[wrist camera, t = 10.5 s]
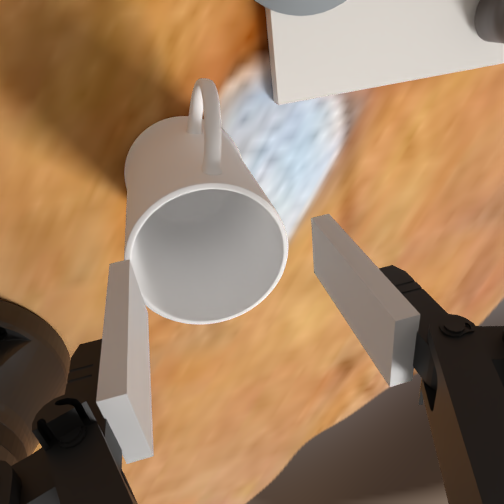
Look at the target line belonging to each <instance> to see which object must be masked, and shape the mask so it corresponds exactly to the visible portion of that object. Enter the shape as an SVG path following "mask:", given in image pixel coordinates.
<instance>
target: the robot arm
mask: <svg viewBox="0 0 504 504" xmlns="http://www.w3.org/2000/svg"><path fill="white" fill-rule="evenodd" d="M311 222H312V241H313V260H314V273H315V274H316V276H317V277H318V279H319V280H320V282H321V283H322V285H323V287H324V288H325V290H326V291H327V293H328V294H329V296H330V297H331V299H332V300H333V302H334V303H335V305H336V306H337V308H338V309H339V311H340V312H341V314H342V315H343V317H344V318H345V320H346V321H347V323H348V324H349V326H350V327H351V329H352V330H353V332H354V333H355V335H356V336H357V338H358V339H359V341H360V343H361V344H362V346H363V347H364V349H365V350H366V352H367V353H368V355H369V356H370V358H371V359H372V361H373V362H374V364H375V365H376V367H377V368H378V370H379V371H380V373H381V374H382V376H383V377H384V379H385V380H386V382H387V383H388V385H389V386H390V387H391V386H395V385H398V384H401V383H405V382H408V381H412V378H413V369H414V368H415V369H416V371H417V372H418V373H419V375H420V376H421V377H422V380H421V386H420V393H419V405H422V404H423V399H424V403H425V407H426V411H427V416H428V420H429V424H430V427H431V432H432V436H433V440H434V445H435V449H436V453H437V457H438V461H439V465H440V470H441V474H442V478H443V482H444V486H445V491H446V495H447V498H448V503H449V504H504V326H486V327H482V326H475V325H474V323H472V322H471V321H469V320H468V319H466V318H464V317H461V316H458V315H452V314H448V313H447V312H446V311H445V310H444V309H443V308H442V307H441V306H440V305H439V304H438V303H437V302H436V301H435V300H434V299H433V298H432V297H431V296H430V295H429V294H428V293H427V292H426V291H425V290H424V289H422V288H421V286H420V285H419V284H418V283H417V282H415V281H414V279H413V278H412V277H411V276H410V275H409V274H408V273H407V272H405V271H403V270H401V269H399V268H397V267H395V266H393V265H391V266H387V267H383V268H378V267H377V266H376V265H375V264H374V263H373V262H372V261H371V260H370V259H369V257H368V256H367V255H366V254H365V253H364V252H363V251H362V250H361V249H360V248H359V246H358V245H357V244H356V243H355V242H354V241H353V240H352V239H351V238H350V237H349V236H348V234H347V233H346V232H345V231H344V230H343V229H342V228H341V227H340V226H339V225H338V223H337V222H336V221H335V220H334V219H333V218H332V217H331V216H330V215H329V214H326V215H322V216H318V217H313V218H311ZM39 443H40V444H41V446H42V448H41V449H39V450H38V451H36V452H35V453H33V452H34V450H35V448H36V447H37V445H38V444H39ZM32 453H33V454H32ZM122 455H123V457H124V459H125V461H126V463H127V464H128V463H131V462H135V461H138V460H142V459H145V458H149V457H152V456H154V455H153V430H152V405H151V379H150V354H149V329H148V312H147V309H146V306H145V303H144V300H143V297H142V294H141V291H140V288H139V285H138V282H137V280H136V277H135V274H134V271H133V268H132V265H131V262H130V259H129V260H124V261H120V262H116V263H111V264H110V266H109V276H108V286H107V296H106V306H105V316H104V326H103V336H102V339H100V340H96V341H92V342H88V343H84V344H80V345H79V347H78V348H77V350H76V351H75V353H74V354H73V356H72V357H71V361H70V356H69V353H68V350H67V348H66V345H65V344H64V342H63V340H62V339H61V337H60V336H59V335H58V334H57V332H56V331H55V330H54V329H53V328H52V327H51V326H50V325H49V324H47V323H46V322H45V321H44V320H42V319H41V318H39V317H38V316H36V315H35V314H33V313H31V312H30V311H28V310H26V309H24V308H22V307H19V306H17V305H14V304H12V303H9V302H6V301H2V300H0V504H138V503H137V501H136V499H135V497H134V495H133V492H132V490H131V488H130V486H129V484H128V481H127V479H126V477H125V475H124V473H123V471H122V469H121V468H122Z"/></svg>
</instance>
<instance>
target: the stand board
mask: <svg viewBox="0 0 504 504" xmlns="http://www.w3.org/2000/svg"><path fill="white" fill-rule="evenodd" d="M255 1H256V2H257V3H259V4H261V5H262V6H264V7H265V11H266V22H267V33H268V45H269V56H270V67H271V78H272V89H273V100H274V102H275V103H276V104H278V105H282V104H287V103H293V102H298V101H303V100H309V99H314V98H319V97H325V96H330V95H336V94H341V93H346V92H352V91H357V90H362V89H368V88H373V87H378V86H384V85H389V84H394V83H400V82H405V81H411V80H416V79H421V78H427V77H432V76H437V75H443V74H448V73H453V72H459V71H464V70H470V69H475V68H480V67H486V66H491V65H496V64H502V63H504V43H495V42H487V41H484V40H482V39H481V38H480V37H479V36H478V34H477V32H476V30H475V25H474V18H475V12H476V8H477V6H478V3H479V1H480V0H255Z"/></svg>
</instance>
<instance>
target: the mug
mask: <svg viewBox="0 0 504 504" xmlns="http://www.w3.org/2000/svg"><path fill="white" fill-rule="evenodd" d="M203 110H204V119H202V115H203ZM124 177H125V184H126V188H127V208H126V229H125V252H124V260H129V259H130V262H131V265H132V268H133V271H134V274H135V277H136V280H137V282H138V285H139V288H140V291H141V294H142V297H143V300H144V303H145V305H146V306H147V307H148V308H150V309H151V310H152V311H154V312H155V313H157V314H159V315H161V316H163V317H165V318H168V319H170V320H173V321H177V322H181V323H187V324H212V323H218V322H222V321H226V320H229V319H232V318H235V317H237V316H240V315H242V314H244V313H246V312H247V311H249V310H251V309H252V308H254V307H255V306H257V305H258V304H259V303H260V302H261V301H263V300H264V299H265V298H266V297H267V296H268V295H269V294H270V293H271V291H272V290H273V289H274V287H275V286H276V285H277V283H278V281H279V280H280V278H281V276H282V274H283V271H284V269H285V265H286V262H287V257H288V238H287V233H286V230H285V227H284V224H283V222H282V220H281V218H280V216H279V214H278V213H277V211H276V210H275V208H274V207H273V205H272V204H271V202H270V201H269V199H268V198H267V196H266V195H265V193H264V192H263V190H262V189H261V187H260V186H259V184H258V183H257V181H256V180H255V178H254V177H253V175H252V174H251V172H250V171H249V169H248V168H247V166H246V165H245V164H244V162H243V161H242V157H241V154H240V151H239V149H238V147H237V146H236V144H235V142H234V141H233V140H232V138H231V137H230V136H229V135H228V134H227V133H226V132H225V131H224V130H223V129H221V112H220V102H219V96H218V91H217V88H216V86H215V84H214V82H213V81H212V80H210V79H206V78H201V79H198V80H197V81H196V83H195V85H194V88H193V91H192V96H191V102H190V109H189V116H177V117H171V118H167V119H164V120H161V121H159V122H157V123H155V124H153V125H151V126H150V127H148V128H147V129H146V130H144V131H143V132H142V133H141V134H140V135H139V136H138V137H137V139H136V140H135V141H134V143H133V144H132V146H131V148H130V150H129V152H128V155H127V158H126V162H125V169H124Z"/></svg>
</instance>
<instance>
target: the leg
mask: <svg viewBox="0 0 504 504" xmlns="http://www.w3.org/2000/svg"><path fill="white" fill-rule="evenodd" d="M474 25H475V30H476V32H477V34H478V36H479V37H480V38H481V39H482V40H484V41H487V42H495V43H504V0H480V1H479V3H478V6H477V8H476V12H475V18H474Z"/></svg>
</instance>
